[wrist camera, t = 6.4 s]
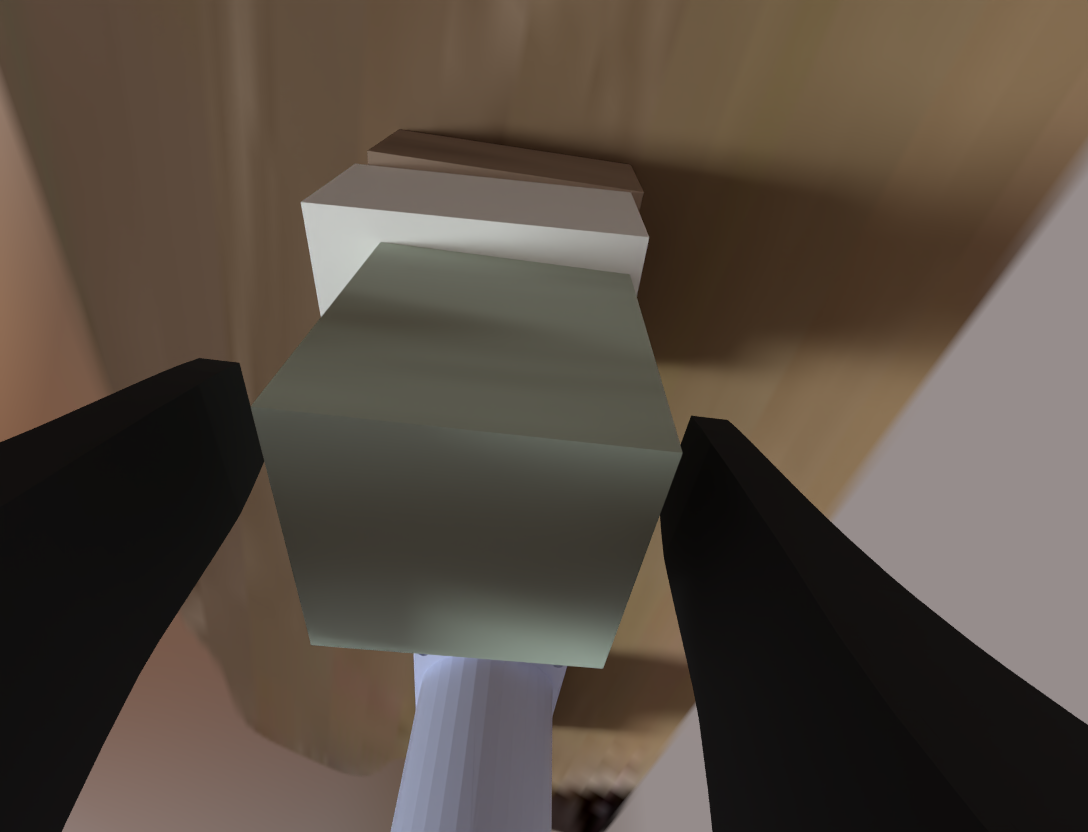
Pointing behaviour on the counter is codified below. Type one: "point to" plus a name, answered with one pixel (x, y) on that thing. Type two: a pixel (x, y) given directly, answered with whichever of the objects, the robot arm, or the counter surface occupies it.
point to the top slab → (467, 222)
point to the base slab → (501, 162)
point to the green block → (470, 458)
